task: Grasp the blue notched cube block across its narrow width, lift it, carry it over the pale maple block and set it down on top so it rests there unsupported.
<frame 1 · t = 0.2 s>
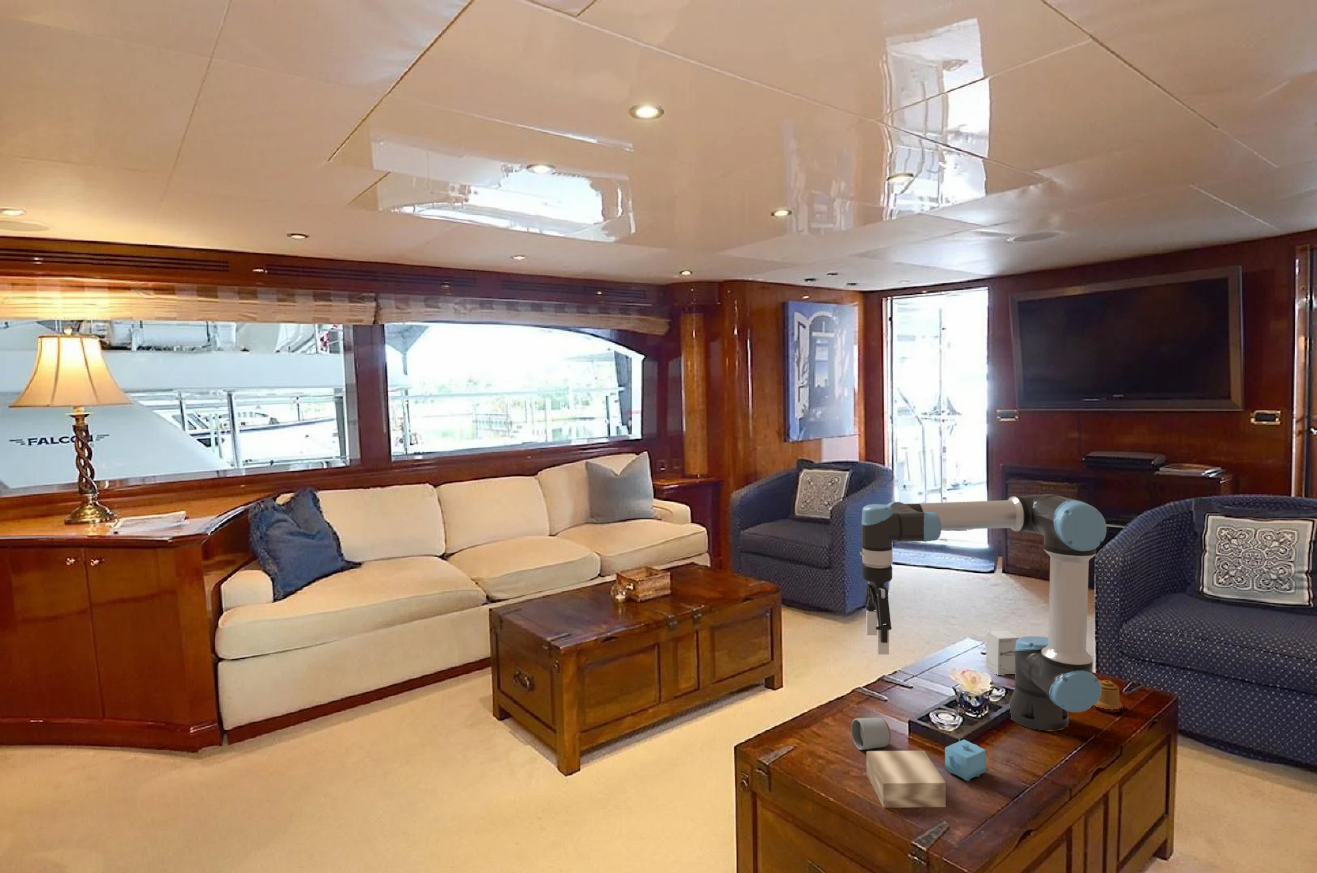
hand: (877, 644, 184), 28 cm above the table, fingers open, 13 cm apart
ceramic mug: (867, 745, 187), on the table
supplement box: (1002, 672, 231), on the table
maple block: (904, 790, 166), on the table
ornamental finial: (1106, 709, 204), on the table
blue notched cube block: (962, 776, 171), on the table
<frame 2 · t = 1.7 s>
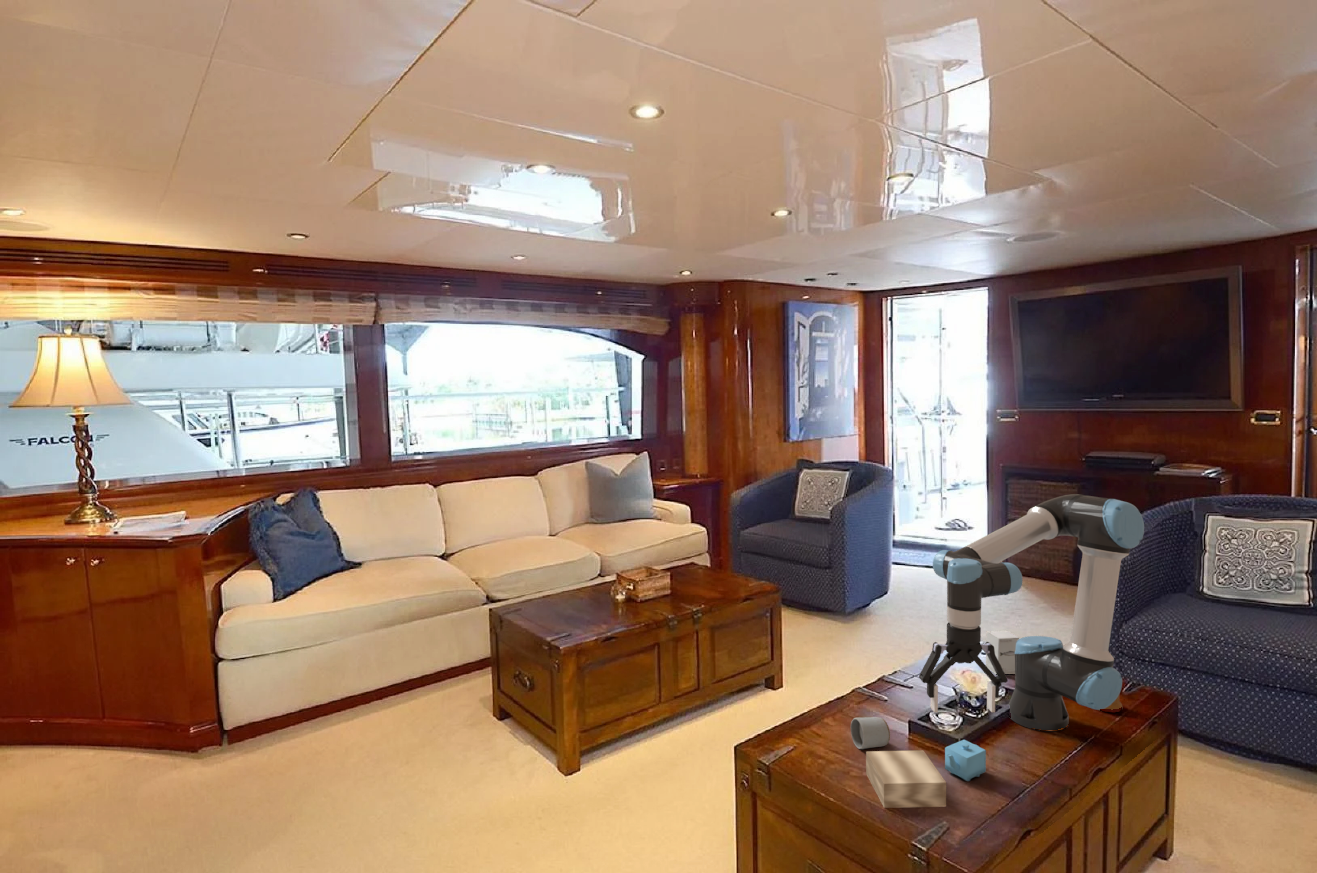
hand: (962, 710, 170), 16 cm above the table, fingers open, 13 cm apart
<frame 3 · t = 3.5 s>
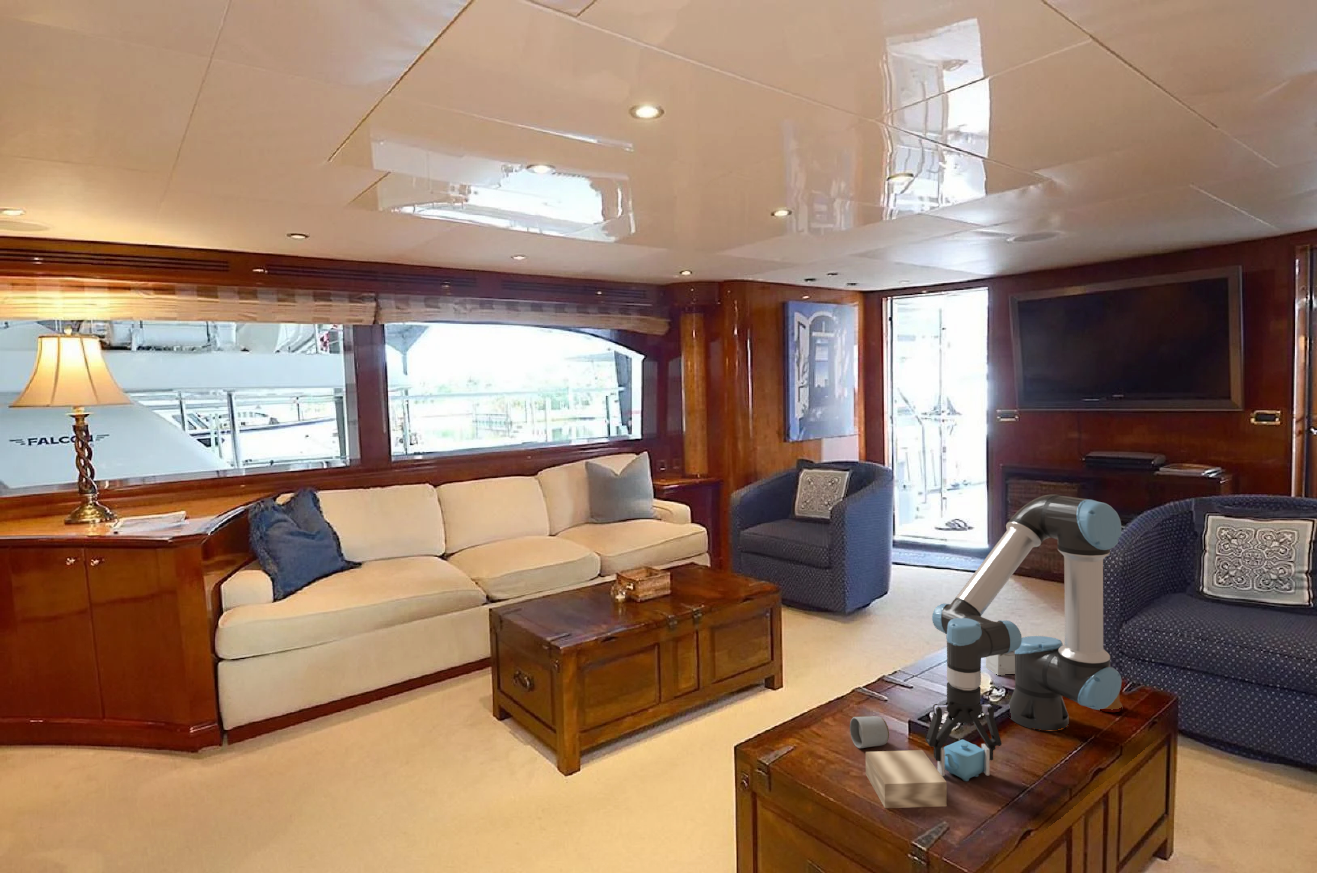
hand: (963, 772, 171), 1 cm above the table, fingers closed on blue notched cube block, 10 cm apart
blue notched cube block: (961, 775, 171), on the table, touching gripper
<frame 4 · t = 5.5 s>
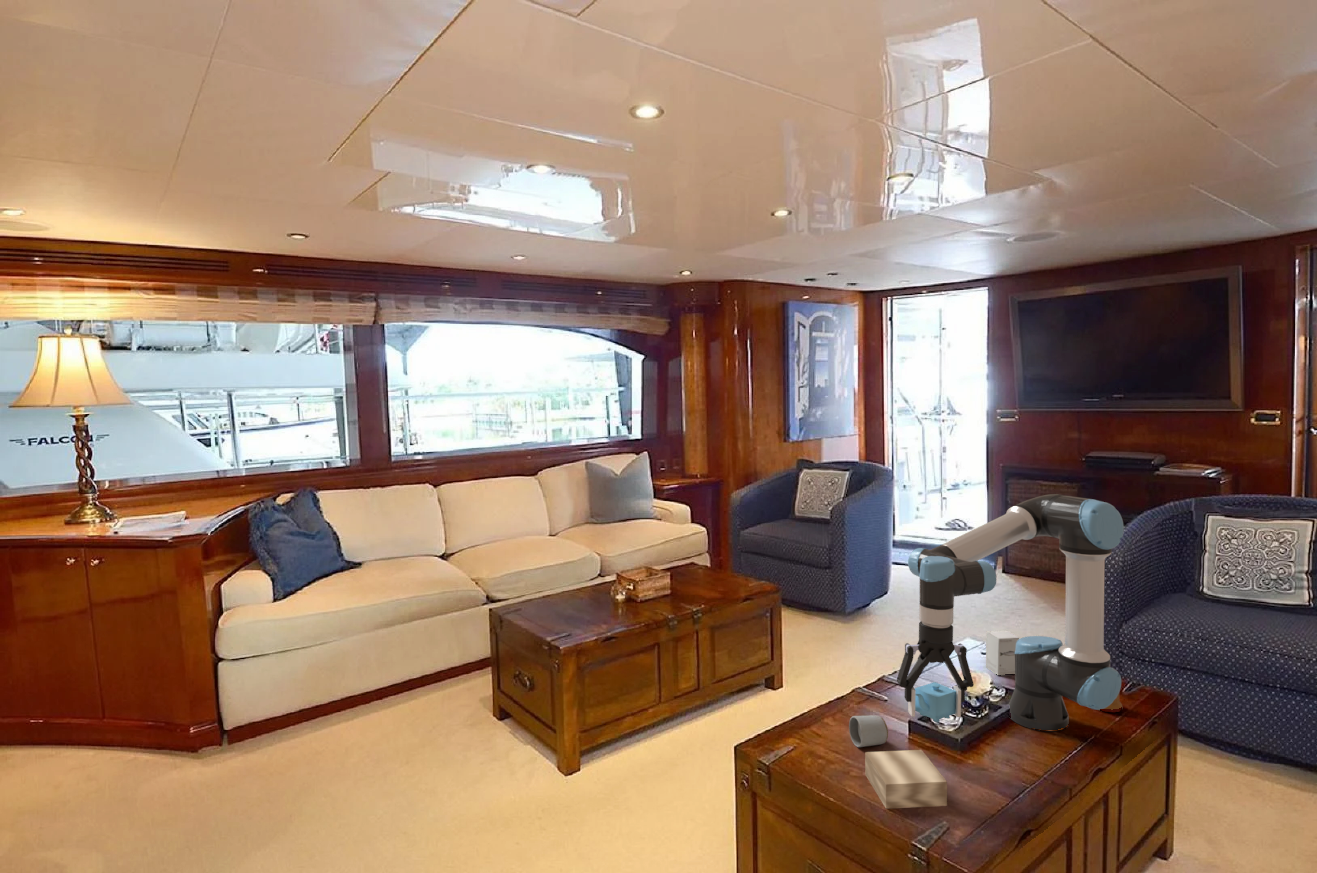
hand: (934, 714, 167), 17 cm above the table, fingers closed on blue notched cube block, 10 cm apart
blue notched cube block: (932, 717, 167), point 16 cm above the table, touching gripper
when the fingers open (8 cm above the table, at t = 7.9 s): blue notched cube block drops 2 cm, resting on maple block.
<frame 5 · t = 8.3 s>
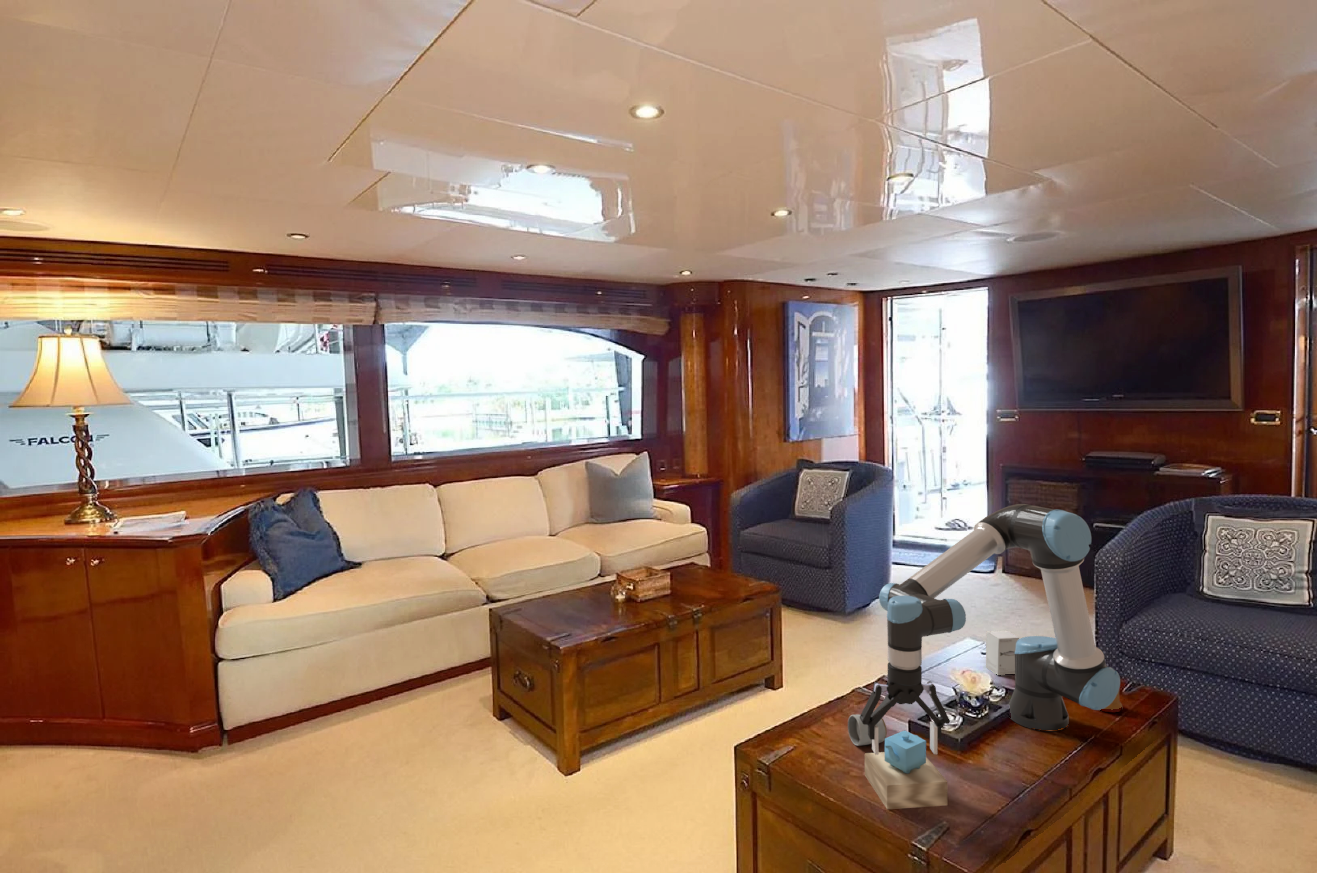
hand: (904, 751, 165), 9 cm above the table, fingers open, 13 cm apart
maple block: (904, 791, 166), on the table, touching blue notched cube block
blue notched cube block: (902, 767, 165), point 5 cm above the table, touching maple block
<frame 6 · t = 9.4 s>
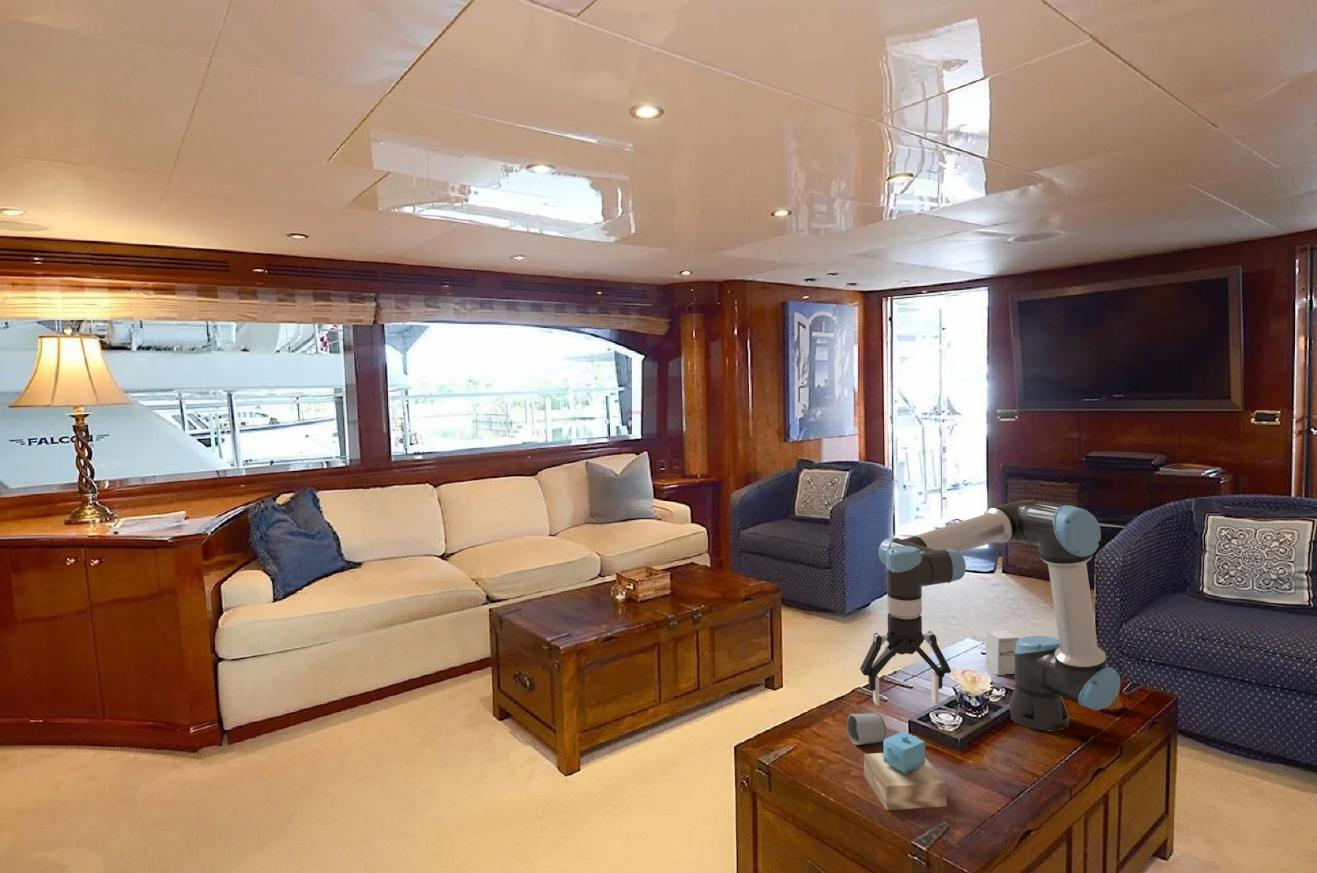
hand: (905, 702, 165), 21 cm above the table, fingers open, 13 cm apart
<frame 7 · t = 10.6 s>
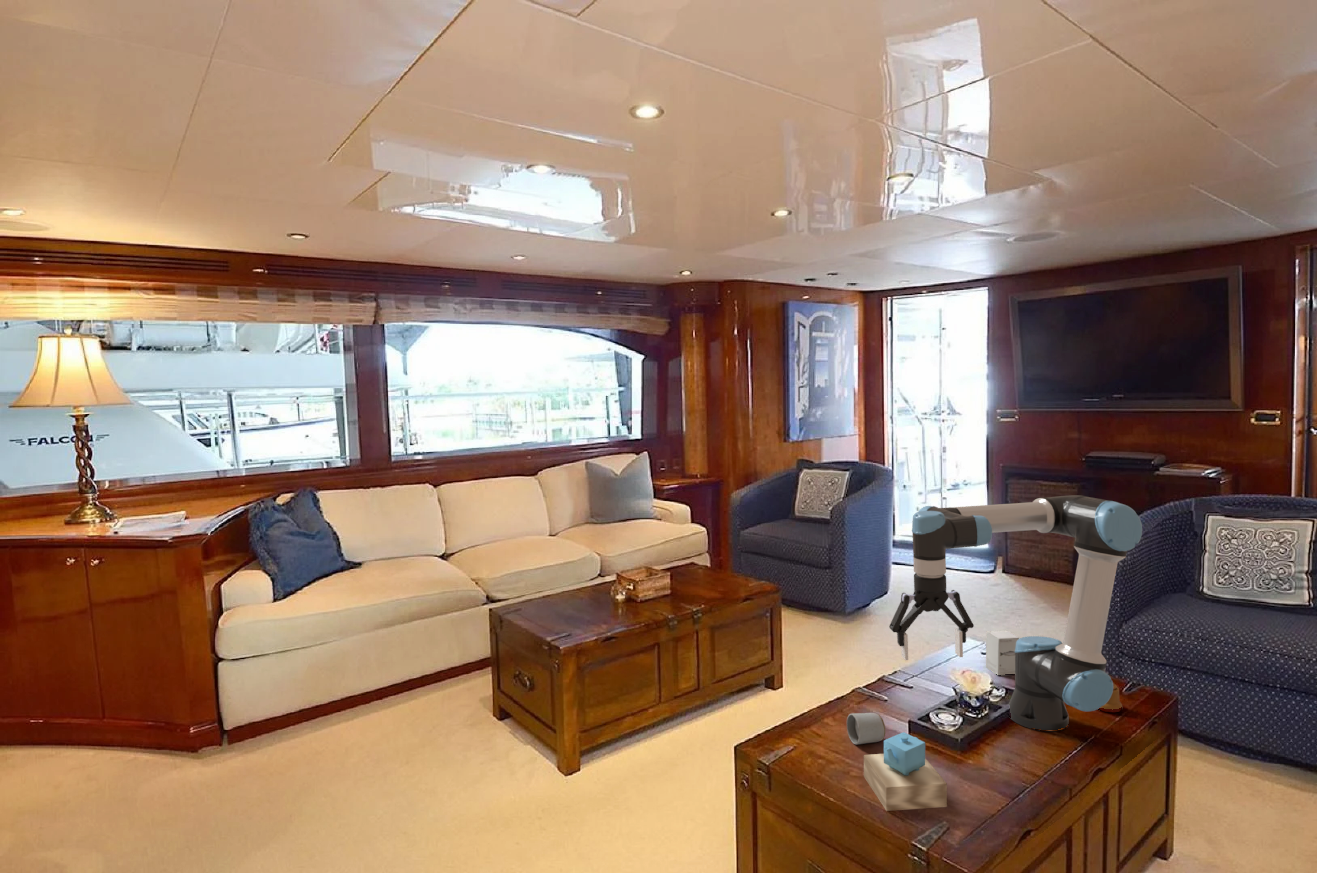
hand: (932, 656, 177), 27 cm above the table, fingers open, 13 cm apart
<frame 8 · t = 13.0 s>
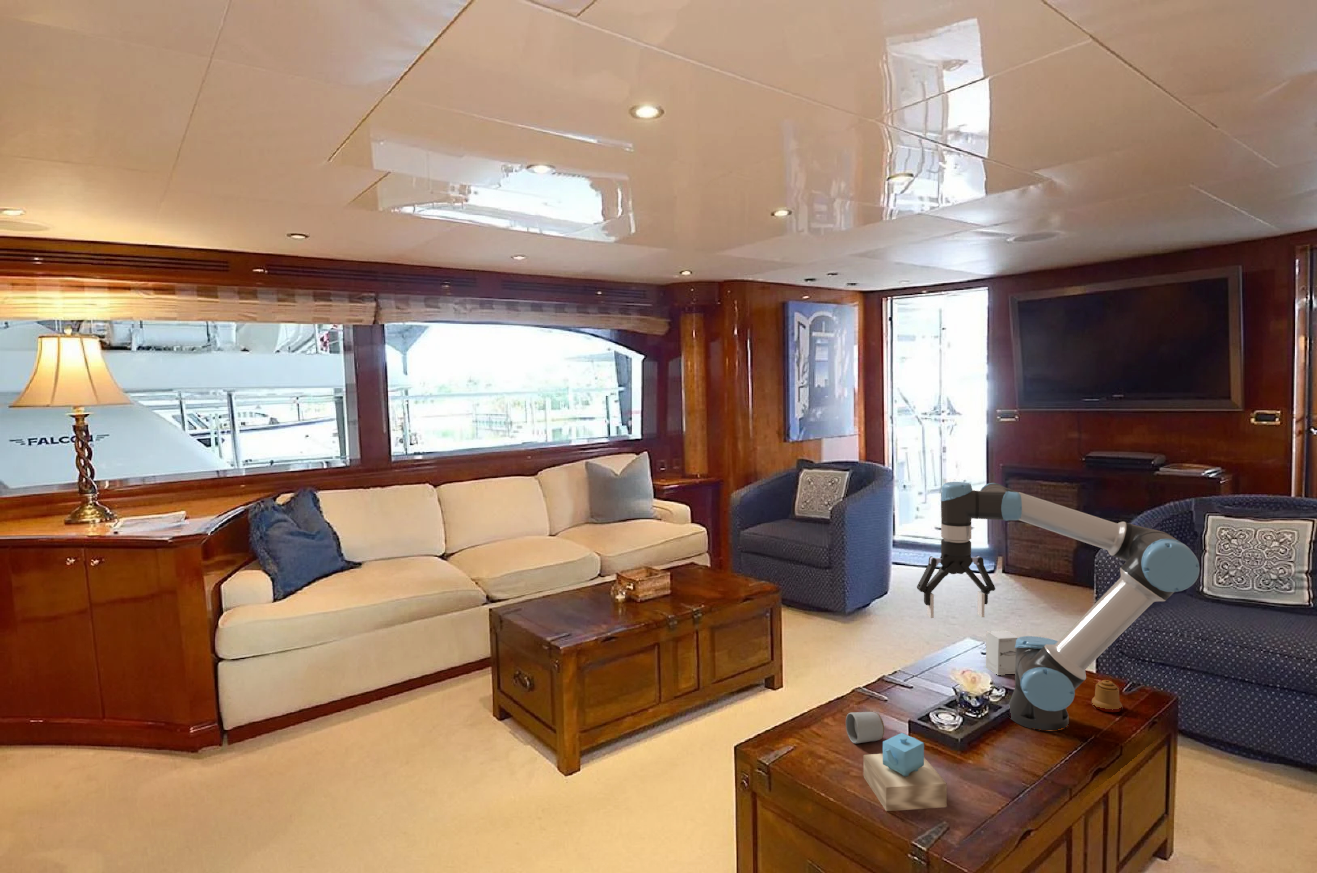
hand: (955, 616, 192), 32 cm above the table, fingers open, 13 cm apart
at the end: blue notched cube block inside the target area on the maple block (1.0 cm from its centre), point 5.8 cm above the maple block's base; blue notched cube block tilted 0°; blue notched cube block touching maple block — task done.
